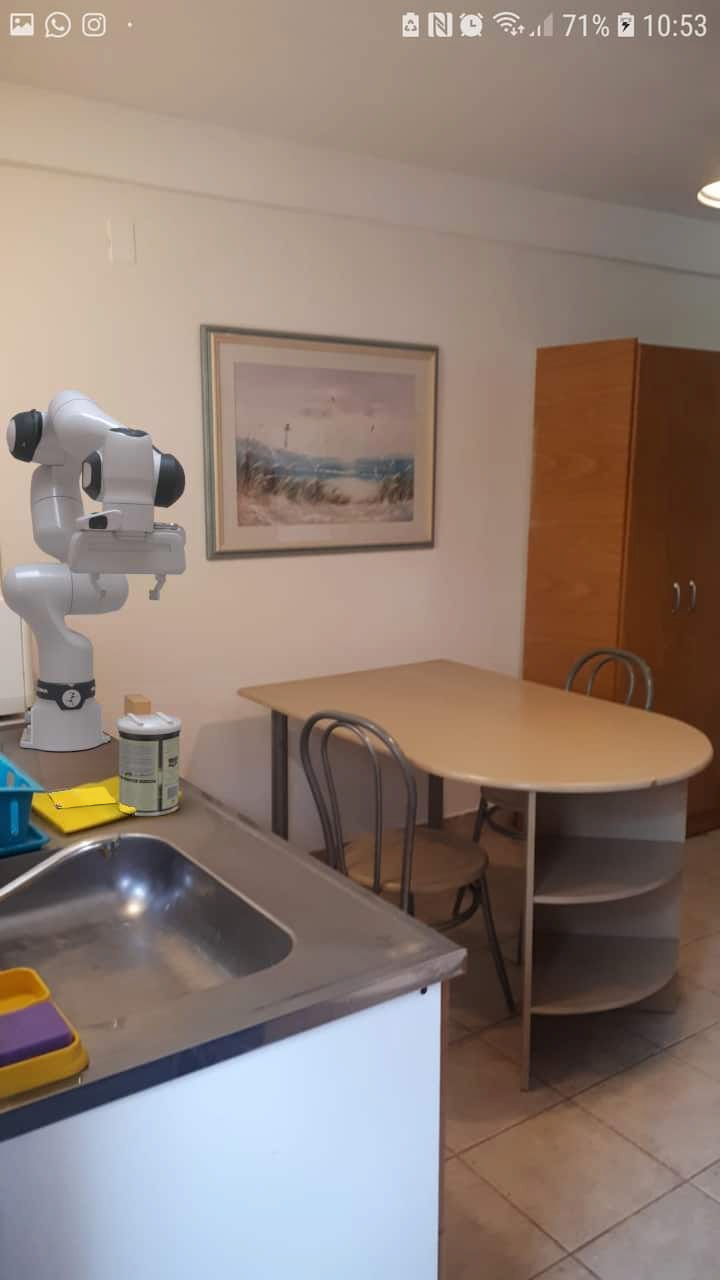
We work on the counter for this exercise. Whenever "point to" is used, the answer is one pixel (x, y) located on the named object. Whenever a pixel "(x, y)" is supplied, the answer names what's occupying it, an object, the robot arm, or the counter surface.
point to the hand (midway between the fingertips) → (127, 600)
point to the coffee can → (149, 772)
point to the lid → (145, 718)
